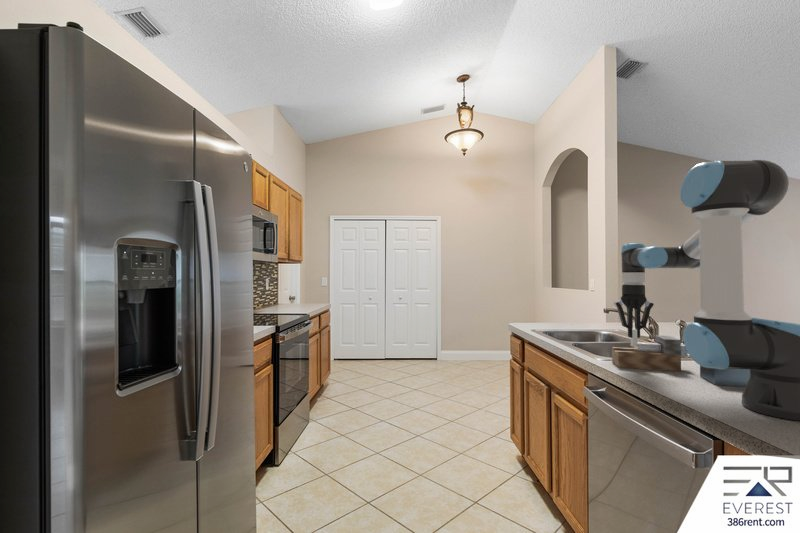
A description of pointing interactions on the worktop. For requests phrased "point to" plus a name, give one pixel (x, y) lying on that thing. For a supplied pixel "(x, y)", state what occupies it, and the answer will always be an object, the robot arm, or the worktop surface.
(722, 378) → the v block
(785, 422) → the worktop surface
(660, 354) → the wooden box
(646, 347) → the steel bar
